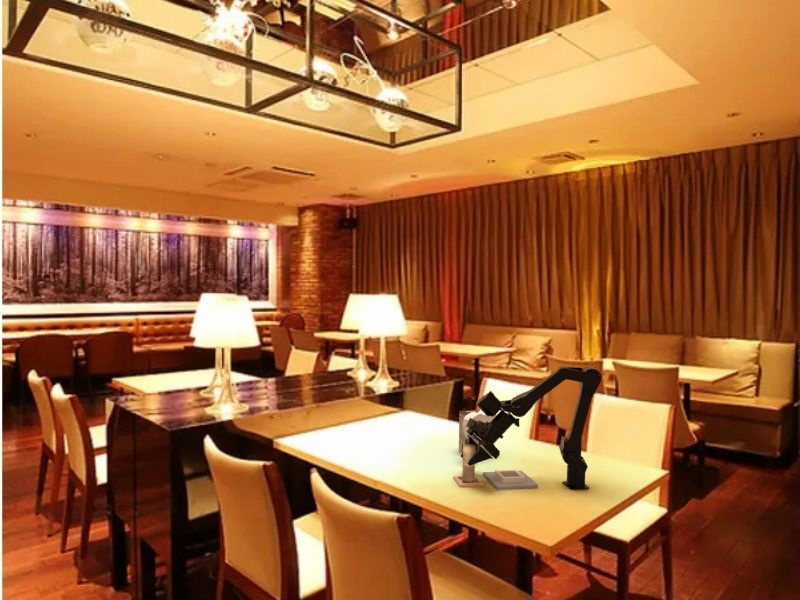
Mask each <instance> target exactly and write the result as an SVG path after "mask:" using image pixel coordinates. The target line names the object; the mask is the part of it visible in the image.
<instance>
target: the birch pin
mask: <svg viewBox="0 0 800 600" xmlns="http://www.w3.org/2000/svg"><path fill="white" fill-rule="evenodd" d="M474 453H475V446H474V445H470V444H466V445H463V458H462V475H461V476H462V479H461V480H462V481H461V482H462V483H475V475H476V474H475V473H476V472H475V470H476V465H475V464H474V465H471V466H469V465H468V464H467V463H468V462H469V460H470V459H471V457H472V456H473V455H474Z"/></svg>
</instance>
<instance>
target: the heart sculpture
mask: <svg viewBox="0 0 800 600" xmlns="http://www.w3.org/2000/svg"><path fill="white" fill-rule="evenodd" d="M479 410H480V411H479V412H478V413H476V412H471V413H469V414H468V415H466V416H465V418H464V420H463V431H464V434H465V436H466V438H467V439H468V437H467V434H468V433H467V432H466V431H467V430H468V429H469V428H468V427H466V425H467V423H468V421H469V419H470V418H472V419H474V420H477V421H479V420H480V421H482V422H484V423H485V422H487V421H488V422H489V423H490V422H491V421H492V419H493V418H494V417H495V416H496V415H497V414H496V415H495V416H493V417H492V416H487V415H486V414H485V413H484V412H483V411H482V410H481V409H479ZM468 435H469V434H468ZM481 447H482V445H481ZM493 458H494V457H493ZM493 458H492V460H494V459H493ZM488 460H489V459H488ZM489 461H490V460H489ZM485 462H488V461H487V460H485ZM482 463H484V462H483V461H482ZM482 463H481V462H479V464H482Z"/></svg>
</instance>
